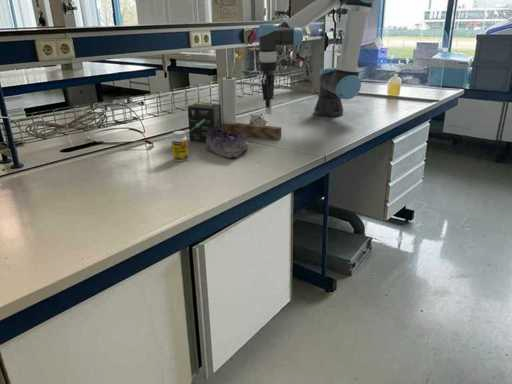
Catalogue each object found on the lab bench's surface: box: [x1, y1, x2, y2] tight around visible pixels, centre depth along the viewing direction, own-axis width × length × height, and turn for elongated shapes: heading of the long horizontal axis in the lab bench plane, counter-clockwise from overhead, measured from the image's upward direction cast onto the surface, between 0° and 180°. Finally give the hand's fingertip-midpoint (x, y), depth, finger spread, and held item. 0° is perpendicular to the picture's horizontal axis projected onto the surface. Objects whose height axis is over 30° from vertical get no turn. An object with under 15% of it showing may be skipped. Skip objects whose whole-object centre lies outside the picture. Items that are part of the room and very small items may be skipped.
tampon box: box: [187, 102, 222, 144], centre depth 173 cm, size 11×9×15 cm
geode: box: [205, 125, 249, 160], centre depth 159 cm, size 20×12×10 cm, turn 47°
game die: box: [248, 113, 269, 126], centre depth 185 cm, size 9×8×10 cm
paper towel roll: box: [217, 76, 237, 123], centre depth 196 cm, size 7×6×21 cm
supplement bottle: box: [171, 130, 189, 163], centre depth 151 cm, size 6×6×10 cm
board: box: [222, 122, 282, 142], centre depth 179 cm, size 26×3×5 cm, turn 69°
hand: (268, 113), depth 195 cm, fingers closed
